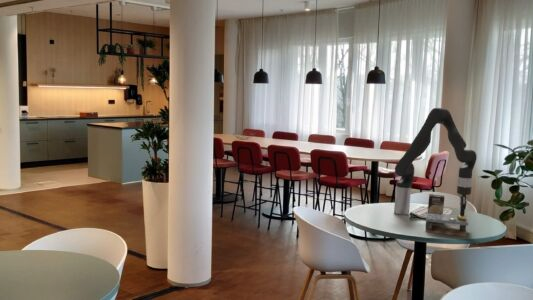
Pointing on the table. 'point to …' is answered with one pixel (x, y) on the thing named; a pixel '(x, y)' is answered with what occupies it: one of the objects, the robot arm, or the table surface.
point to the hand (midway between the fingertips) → (462, 215)
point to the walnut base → (446, 229)
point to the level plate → (447, 218)
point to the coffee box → (436, 204)
